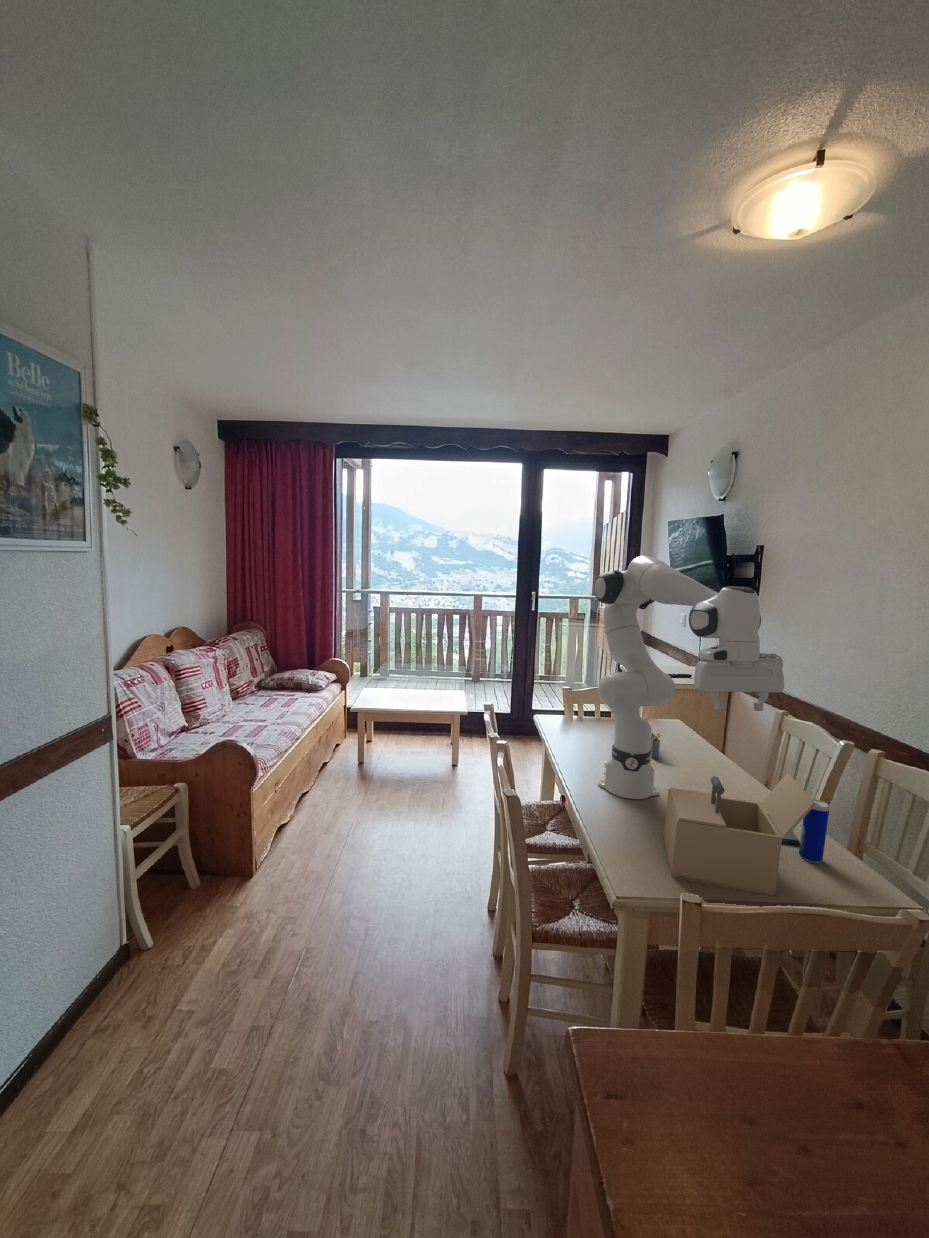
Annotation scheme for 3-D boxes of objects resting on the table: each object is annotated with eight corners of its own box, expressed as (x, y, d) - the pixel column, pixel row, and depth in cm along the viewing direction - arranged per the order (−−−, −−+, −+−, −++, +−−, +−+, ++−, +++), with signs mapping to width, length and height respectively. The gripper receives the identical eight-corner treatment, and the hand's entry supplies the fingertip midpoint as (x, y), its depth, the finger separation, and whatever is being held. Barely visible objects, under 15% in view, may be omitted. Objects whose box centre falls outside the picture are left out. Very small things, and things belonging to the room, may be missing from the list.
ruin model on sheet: (659, 759, 202) (661, 735, 201) (651, 759, 202) (653, 734, 201) (650, 749, 213) (652, 725, 212) (642, 748, 214) (644, 725, 212)
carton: (663, 838, 143) (668, 789, 141) (753, 854, 138) (759, 802, 136) (671, 876, 126) (677, 820, 124) (774, 896, 120) (782, 837, 119)
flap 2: (783, 836, 119) (785, 837, 119) (813, 802, 117) (816, 803, 116) (761, 802, 135) (763, 804, 135) (787, 772, 133) (790, 773, 133)
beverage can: (800, 850, 141) (807, 796, 139) (823, 858, 137) (830, 802, 136) (797, 858, 137) (804, 802, 135) (821, 866, 133) (828, 809, 132)
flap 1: (669, 789, 141) (672, 762, 140) (712, 795, 138) (715, 768, 137) (678, 819, 124) (681, 789, 123) (726, 827, 122) (730, 796, 121)
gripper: (775, 652, 132) (774, 708, 131) (691, 651, 132) (691, 707, 132) (790, 654, 125) (789, 713, 125) (702, 653, 126) (702, 712, 126)
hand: (738, 710), depth 129 cm, fingers open, 8 cm apart
